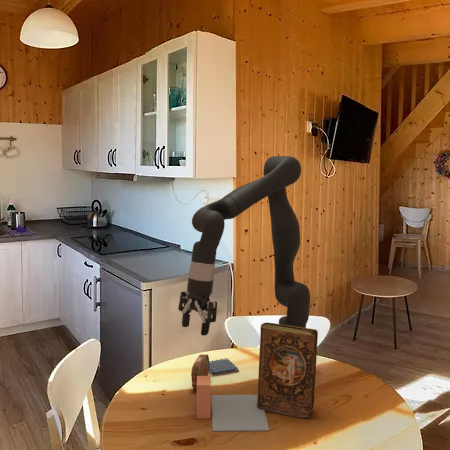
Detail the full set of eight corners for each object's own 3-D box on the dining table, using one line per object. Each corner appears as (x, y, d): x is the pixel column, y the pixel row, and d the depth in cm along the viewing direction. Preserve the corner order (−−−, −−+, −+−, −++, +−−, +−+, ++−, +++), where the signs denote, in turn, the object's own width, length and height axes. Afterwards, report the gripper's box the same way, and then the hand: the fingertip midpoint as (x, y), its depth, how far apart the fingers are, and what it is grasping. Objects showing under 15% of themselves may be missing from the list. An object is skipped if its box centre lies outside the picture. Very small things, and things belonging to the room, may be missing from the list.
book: (255, 408, 144) (258, 327, 140) (259, 400, 149) (263, 321, 145) (310, 419, 138) (315, 336, 135) (313, 410, 144) (318, 329, 140)
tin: (199, 394, 153) (199, 369, 152) (189, 393, 153) (189, 368, 152) (210, 373, 167) (210, 350, 166) (201, 373, 168) (201, 349, 167)
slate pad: (260, 395, 152) (260, 394, 152) (269, 430, 132) (269, 429, 132) (211, 396, 152) (211, 395, 152) (212, 431, 132) (212, 430, 132)
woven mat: (227, 362, 178) (227, 356, 178) (240, 373, 169) (240, 368, 169) (201, 366, 174) (201, 361, 174) (212, 378, 165) (212, 373, 164)
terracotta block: (210, 407, 145) (210, 375, 143) (210, 418, 139) (210, 385, 137) (196, 407, 144) (196, 375, 143) (196, 418, 138) (196, 385, 137)
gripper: (227, 281, 140) (220, 336, 141) (195, 271, 150) (188, 322, 151) (208, 283, 134) (200, 339, 136) (176, 272, 145) (169, 325, 146)
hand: (194, 330), depth 143 cm, fingers open, 8 cm apart
